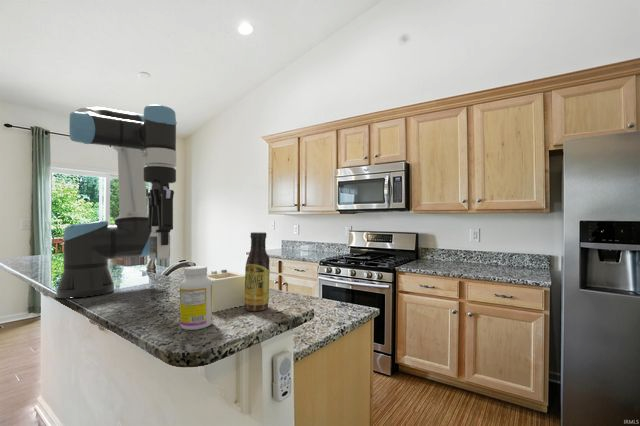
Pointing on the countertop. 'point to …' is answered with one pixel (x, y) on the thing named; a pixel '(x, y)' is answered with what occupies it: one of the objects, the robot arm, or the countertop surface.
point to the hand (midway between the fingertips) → (160, 257)
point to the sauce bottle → (257, 274)
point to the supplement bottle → (195, 299)
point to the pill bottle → (154, 243)
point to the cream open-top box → (227, 289)
